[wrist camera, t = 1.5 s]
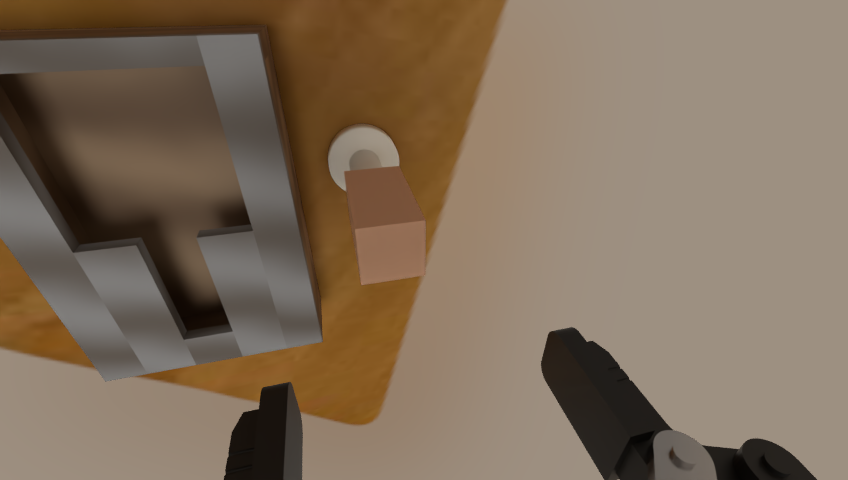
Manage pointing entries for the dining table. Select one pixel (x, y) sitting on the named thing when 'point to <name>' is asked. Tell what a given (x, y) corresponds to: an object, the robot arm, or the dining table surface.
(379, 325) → the dining table surface
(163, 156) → the keyhole plate
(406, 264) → the keyhole peg
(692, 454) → the robot arm
